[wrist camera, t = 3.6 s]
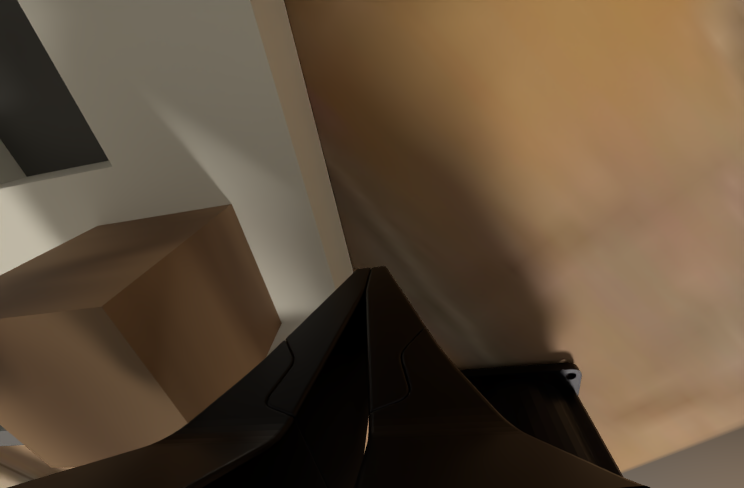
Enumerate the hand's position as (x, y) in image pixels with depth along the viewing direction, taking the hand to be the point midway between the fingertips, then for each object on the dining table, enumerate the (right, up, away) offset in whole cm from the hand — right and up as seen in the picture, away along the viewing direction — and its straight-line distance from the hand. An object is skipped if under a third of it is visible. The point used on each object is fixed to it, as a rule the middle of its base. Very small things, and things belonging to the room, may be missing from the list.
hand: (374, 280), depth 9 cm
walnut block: (-7, 0, +2) cm, 7 cm away
